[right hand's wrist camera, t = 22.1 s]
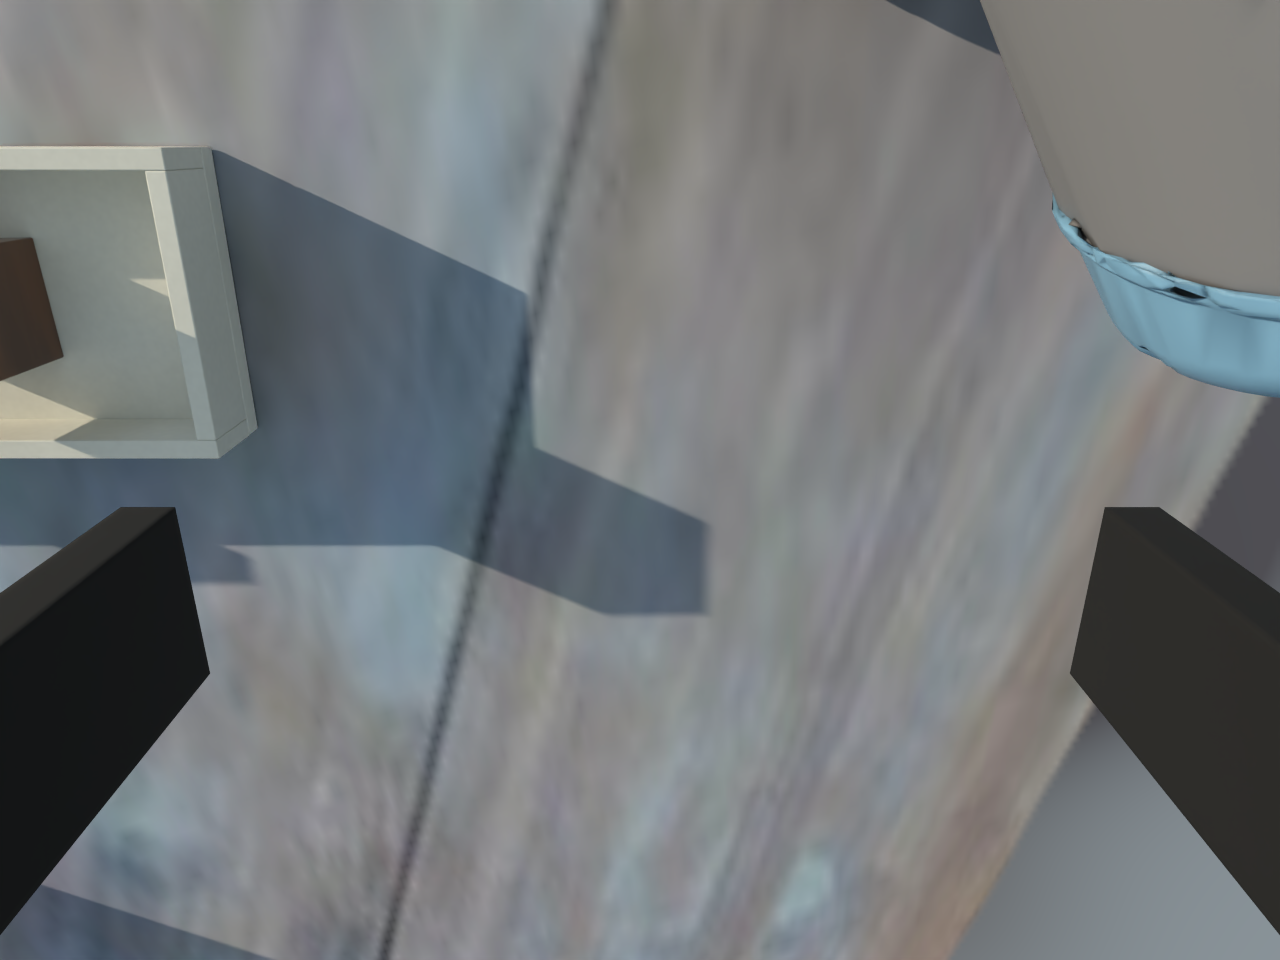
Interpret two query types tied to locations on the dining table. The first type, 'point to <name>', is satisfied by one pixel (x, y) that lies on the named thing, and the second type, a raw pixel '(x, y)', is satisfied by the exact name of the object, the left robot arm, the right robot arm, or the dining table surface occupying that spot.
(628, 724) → the dining table surface
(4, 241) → the walnut block
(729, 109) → the dining table surface
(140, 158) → the tray
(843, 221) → the dining table surface
